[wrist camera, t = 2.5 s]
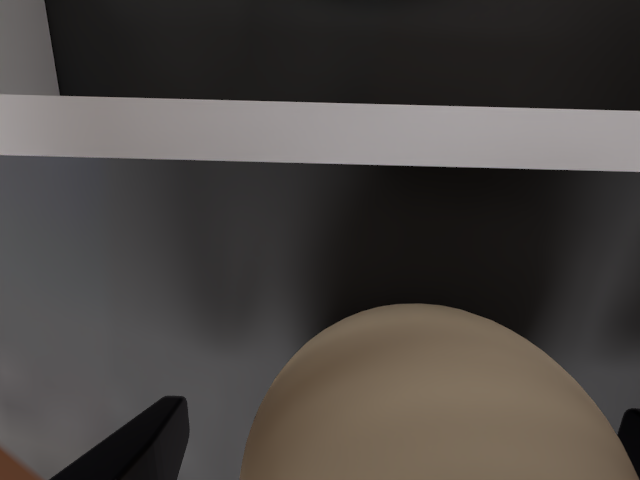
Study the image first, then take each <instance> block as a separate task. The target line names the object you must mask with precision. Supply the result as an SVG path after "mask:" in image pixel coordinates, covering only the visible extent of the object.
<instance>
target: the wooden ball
mask: <svg viewBox="0 0 640 480" xmlns="http://www.w3.org/2000/svg"><path fill="white" fill-rule="evenodd" d="M239 480H639V478H638V476H637V474H636V471H635V469H634V467H633V465H632V463H631V461H630V459H629V457H628V455H627V453H626V451H625V449H624V447H623V445H622V443H621V441H620V439H619V438H618V436H617V435H616V433H615V431H614V430H613V428H612V427H611V425H610V424H609V422H608V420H607V419H606V417H605V416H604V415H603V413H602V412H601V411H600V409H599V408H598V407H597V405H596V404H595V403H594V401H593V400H592V399H591V398H590V396H589V395H588V394H587V393H586V392H585V391H584V389H583V388H582V387H581V386H580V385H579V384H578V383H577V381H576V380H575V379H574V378H573V377H572V376H571V375H569V374H568V373H567V372H566V371H565V370H564V369H563V368H562V367H561V366H560V365H559V364H558V363H557V362H555V361H554V360H553V359H552V358H551V357H550V356H548V355H547V354H546V353H545V352H544V351H542V350H541V349H540V348H538V347H537V346H535V345H534V344H532V343H531V342H530V341H528V340H527V339H525V338H524V337H522V336H520V335H519V334H517V333H515V332H514V331H512V330H510V329H508V328H506V327H504V326H502V325H500V324H498V323H496V322H494V321H492V320H490V319H487V318H484V317H481V316H478V315H475V314H472V313H470V312H467V311H464V310H461V309H456V308H452V307H447V306H442V305H432V304H421V303H414V304H394V305H387V306H381V307H376V308H372V309H369V310H365V311H361V312H359V313H356V314H354V315H351V316H349V317H347V318H344V319H342V320H341V321H339V322H337V323H335V324H333V325H332V326H330V327H328V328H326V329H324V330H323V331H321V332H320V333H319V334H317V335H316V336H315V337H313V338H312V339H311V340H309V341H308V342H307V343H306V344H305V345H304V346H303V347H302V348H301V349H300V350H299V351H298V352H297V353H295V355H294V356H293V357H292V358H291V359H290V360H289V361H288V363H287V364H286V365H285V366H284V368H283V369H282V370H281V371H280V373H279V374H278V375H277V377H276V378H275V380H274V381H273V383H272V385H271V387H270V388H269V390H268V392H267V394H266V395H265V397H264V399H263V401H262V403H261V405H260V406H259V409H258V411H257V414H256V417H255V419H254V422H253V424H252V427H251V430H250V433H249V436H248V439H247V442H246V447H245V451H244V456H243V461H242V467H241V473H240V479H239Z"/></svg>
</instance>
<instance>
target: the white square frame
mask: <svg viewBox="0 0 640 480" xmlns="http://www.w3.org/2000/svg"><path fill="white" fill-rule="evenodd" d="M0 155H21V156H58V157H96V158H134V159H172V160H210V161H247V162H285V163H323V164H361V165H399V166H437V167H474V168H512V169H550V170H588V171H626V172H640V111H621V110H583V109H544V108H506V107H468V106H429V105H391V104H353V103H314V102H276V101H238V100H200V99H161V98H123V97H85V96H60V93H59V87H58V81H57V75H56V69H55V63H54V57H53V51H52V44H51V38H50V32H49V26H48V20H47V14H46V8H45V2H44V0H0Z"/></svg>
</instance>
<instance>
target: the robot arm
mask: <svg viewBox="0 0 640 480" xmlns="http://www.w3.org/2000/svg"><path fill="white" fill-rule="evenodd" d="M617 436H618V438H619V439H620V441H621V443H622V445H623V447H624V449H625V451H626V453H627V455H628V457H629V459H630V461H631V463H632V465H633V467H634V469H635V471H636V474H637V476H638V478H639V480H640V409H636V408H631V409H628V410H627V411H626V412H625V413H624V415H623V418H622V421H621V425H620V428H619V431H618V434H617ZM188 439H189V418H188V407H187V401H186V398H185V397H183V396H165V397H163V398H161V399H160V400H158V401H157V402H156V403H154V404H153V405H151V406H150V407H149V408H147V409H146V410H145V411H143V412H142V413H140V414H139V415H138V416H136V417H135V418H133V419H132V420H131V421H129V422H128V423H127V424H125V425H124V426H122V427H121V428H120V429H118V430H117V431H116V432H114V433H113V434H111V435H110V436H109V437H107V438H106V439H104V440H103V441H102V442H100V443H99V444H98V445H96V446H95V447H93V448H92V449H91V450H89V451H88V452H87V453H85V454H84V455H82V456H81V457H80V458H78V459H77V460H75V461H74V462H73V463H71V464H70V465H69V466H67V467H66V468H64V469H63V470H62V471H60V472H59V473H57V474H56V475H55V476H53V477H52V478H51V479H49V480H177V477H178V474H179V470H180V467H181V463H182V460H183V457H184V453H185V450H186V446H187V443H188Z"/></svg>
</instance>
